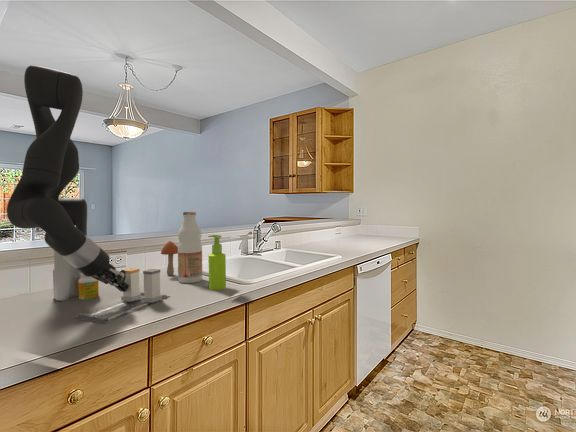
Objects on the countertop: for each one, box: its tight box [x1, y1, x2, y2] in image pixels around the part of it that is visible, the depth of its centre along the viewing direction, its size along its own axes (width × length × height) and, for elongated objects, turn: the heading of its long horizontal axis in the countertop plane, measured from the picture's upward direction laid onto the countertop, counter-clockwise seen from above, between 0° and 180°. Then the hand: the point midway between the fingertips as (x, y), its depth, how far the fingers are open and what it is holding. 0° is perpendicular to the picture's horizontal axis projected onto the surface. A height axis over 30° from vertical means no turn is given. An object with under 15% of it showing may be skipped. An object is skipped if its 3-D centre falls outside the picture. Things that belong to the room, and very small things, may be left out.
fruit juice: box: [177, 211, 203, 284], centre depth 123 cm, size 9×9×28 cm
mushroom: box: [160, 240, 178, 276], centre depth 134 cm, size 8×8×15 cm
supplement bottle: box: [78, 273, 100, 301], centre depth 98 cm, size 5×5×10 cm
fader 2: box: [142, 268, 162, 303], centre depth 93 cm, size 4×4×9 cm
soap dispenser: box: [207, 234, 227, 291], centre depth 109 cm, size 6×7×20 cm
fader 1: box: [120, 267, 142, 301], centre depth 95 cm, size 4×4×9 cm
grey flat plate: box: [73, 291, 172, 325], centre depth 89 cm, size 11×24×2 cm, turn 161°
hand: (125, 288), depth 93 cm, fingers closed
